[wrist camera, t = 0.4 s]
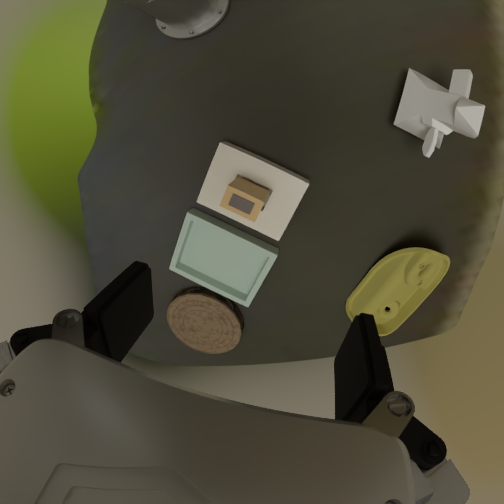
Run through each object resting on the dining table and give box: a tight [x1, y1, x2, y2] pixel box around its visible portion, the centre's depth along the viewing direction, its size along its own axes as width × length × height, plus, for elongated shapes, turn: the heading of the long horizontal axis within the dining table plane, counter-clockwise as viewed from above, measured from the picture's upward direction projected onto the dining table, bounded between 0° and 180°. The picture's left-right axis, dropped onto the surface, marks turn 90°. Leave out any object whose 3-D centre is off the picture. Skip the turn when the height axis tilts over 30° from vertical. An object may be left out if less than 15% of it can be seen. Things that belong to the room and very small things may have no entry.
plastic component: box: [346, 247, 450, 336], centre depth 43 cm, size 20×7×10 cm
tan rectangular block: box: [220, 176, 270, 222], centre depth 38 cm, size 5×3×8 cm, turn 67°
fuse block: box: [197, 141, 309, 241], centre depth 41 cm, size 14×10×3 cm
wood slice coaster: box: [167, 287, 244, 354], centre depth 55 cm, size 16×16×3 cm
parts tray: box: [169, 208, 279, 307], centre depth 47 cm, size 16×12×2 cm
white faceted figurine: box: [393, 68, 485, 157], centre depth 25 cm, size 8×14×14 cm, turn 165°
